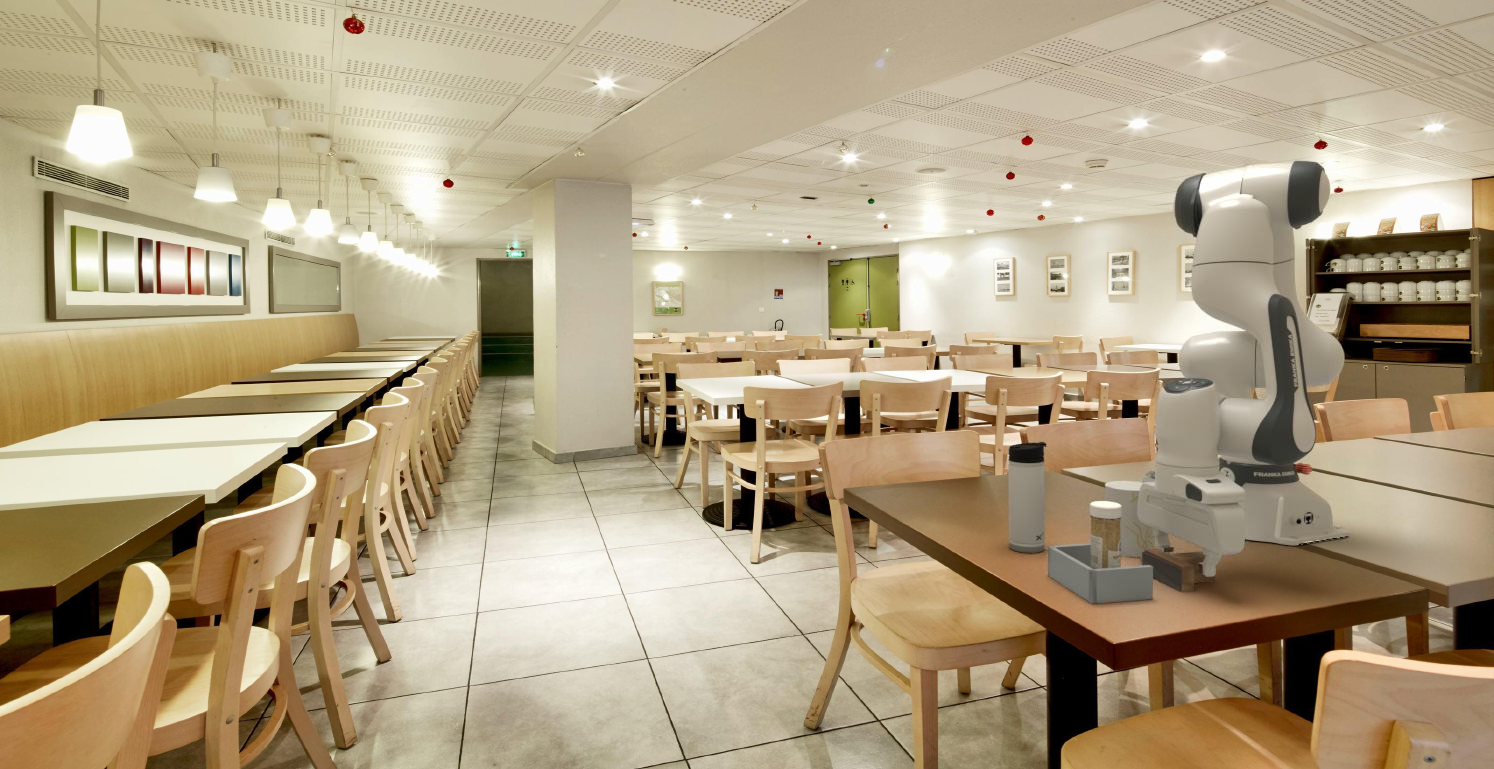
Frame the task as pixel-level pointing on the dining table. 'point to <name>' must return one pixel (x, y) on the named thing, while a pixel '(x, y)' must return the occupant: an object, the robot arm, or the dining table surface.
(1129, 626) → the dining table surface
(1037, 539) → the travel mug
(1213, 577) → the scraper
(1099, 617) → the dining table surface
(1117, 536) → the sprinkles bottle
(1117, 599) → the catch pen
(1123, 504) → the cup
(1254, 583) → the dining table surface
